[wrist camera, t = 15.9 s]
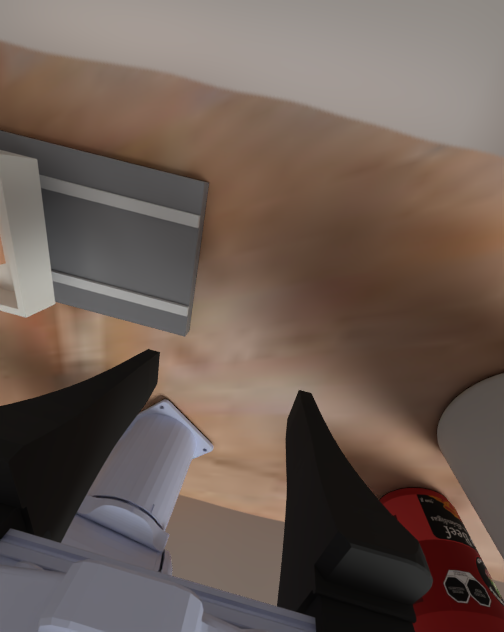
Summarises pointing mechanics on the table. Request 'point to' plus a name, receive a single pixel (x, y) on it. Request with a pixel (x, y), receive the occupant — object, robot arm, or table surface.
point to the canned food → (447, 566)
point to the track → (119, 234)
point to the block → (2, 254)
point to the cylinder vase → (478, 450)
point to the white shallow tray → (23, 238)
